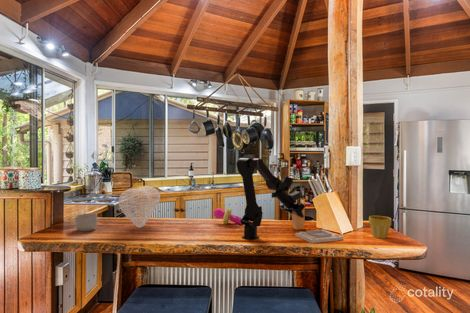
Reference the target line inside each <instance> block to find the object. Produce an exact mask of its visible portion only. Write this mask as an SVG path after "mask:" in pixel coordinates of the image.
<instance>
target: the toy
mask: <svg viewBox="0 0 470 313" xmlns="http://www.w3.org/2000/svg"><path fill="white" fill-rule="evenodd" d="M232 211H233V210H232V209H231V208H230V207H229V208H228V209H226V211H225V210H223V209H222V208H219V207H218V208H216V209H214V211H213V216H214V218H215V219H222V220H223V222H222V224H223V225H224V226H225V225H227V224H228V223H229V222H232V223H234V224H239V225H242V224H241V219H242V217H239V216H237V215H234V214H233V215H232Z"/></svg>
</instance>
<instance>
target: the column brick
mask: <svg viewBox="0 0 470 313" xmlns="http://www.w3.org/2000/svg"><path fill="white" fill-rule="evenodd" d="M305 209H306V207H305V208H304V209H303V210H302V213H303V216H304V217H303V218H302V217H300V216H297V215H295V214H293V211H292V213H291V214H292V216H291V218H292V219H291V220H292V222H291V225H292V227H291V229H294V230H296V231H297V230H305V222H306V221H305V220H306V219H305V215H306V214H305V213H306V212H305V211H306V210H305Z"/></svg>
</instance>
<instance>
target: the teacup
mask: <svg viewBox="0 0 470 313" xmlns="http://www.w3.org/2000/svg"><path fill="white" fill-rule="evenodd" d="M74 223H75V228H76V229H77V230H78V231H80V232H89V231H93V230H94V229H95V228H96V227H97V225H98V214H97V213H94V212H90V213H87V212H86V213H85V212H84V213H81V214H77V215H75V216H74Z"/></svg>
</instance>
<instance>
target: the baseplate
mask: <svg viewBox="0 0 470 313" xmlns="http://www.w3.org/2000/svg"><path fill="white" fill-rule="evenodd" d="M294 235H295V237H297V238H300V239H302V240H304V241H306V242H308V243H309V244H310V243H311V244H316V243H318V244H319V243H326V242H334V241H343V240H344V236H341V235H340V234H338V233H334V232H331V231H328V230H327V229H314V230H306V231H299V232H295V234H294Z"/></svg>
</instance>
